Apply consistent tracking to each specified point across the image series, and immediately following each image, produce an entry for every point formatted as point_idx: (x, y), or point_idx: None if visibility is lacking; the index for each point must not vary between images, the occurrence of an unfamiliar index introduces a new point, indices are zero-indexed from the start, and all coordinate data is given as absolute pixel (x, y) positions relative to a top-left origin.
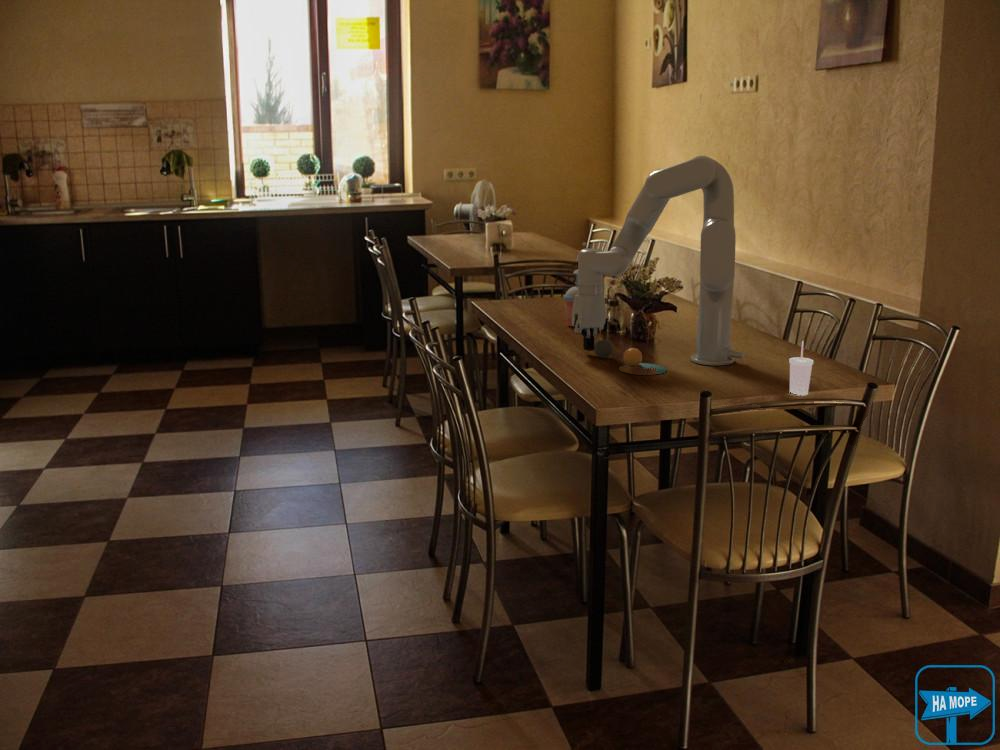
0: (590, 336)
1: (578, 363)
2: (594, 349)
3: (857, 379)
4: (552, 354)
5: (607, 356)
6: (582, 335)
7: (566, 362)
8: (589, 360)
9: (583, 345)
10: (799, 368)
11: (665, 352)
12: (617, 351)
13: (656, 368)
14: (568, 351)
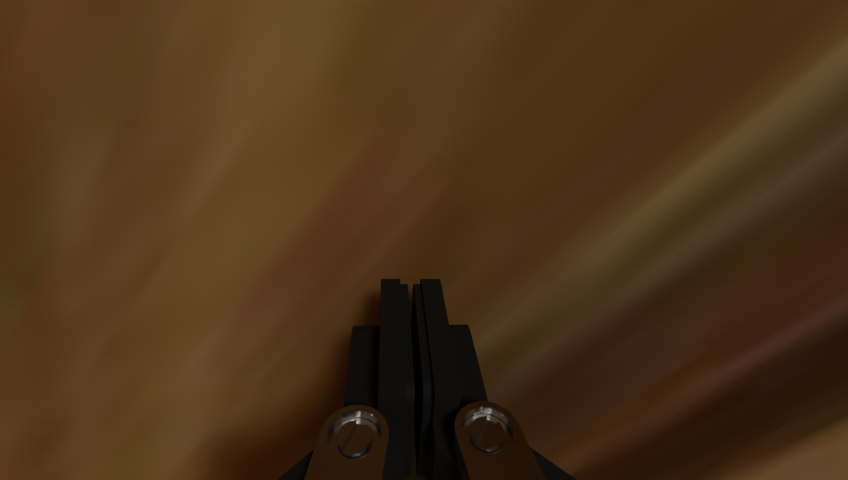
0: (431, 466)
1: (153, 436)
2: None
3: None
4: (20, 57)
5: None
6: (304, 466)
7: (63, 383)
8: (285, 413)
9: (352, 334)
10: None
11: (833, 465)
12: (686, 323)
13: None
14: (314, 50)
